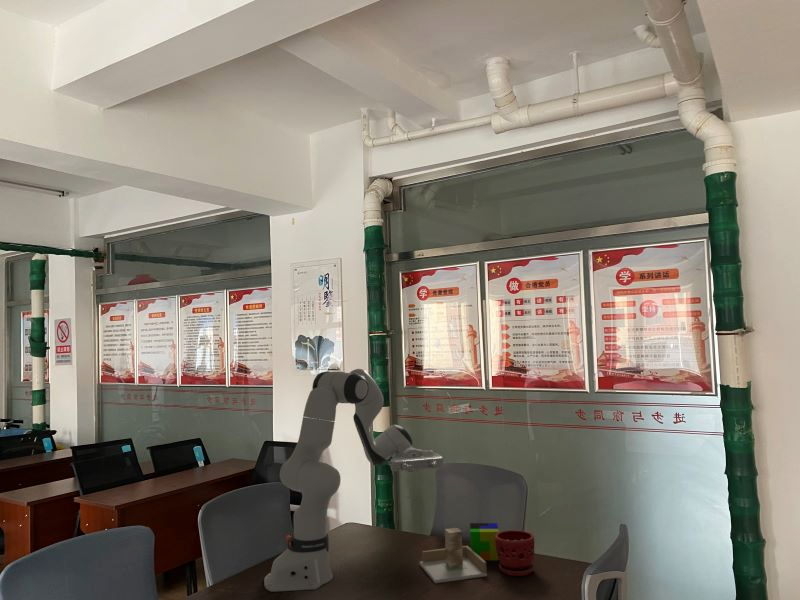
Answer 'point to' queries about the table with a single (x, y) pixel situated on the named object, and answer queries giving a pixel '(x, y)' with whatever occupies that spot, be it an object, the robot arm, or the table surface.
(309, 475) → the robot arm
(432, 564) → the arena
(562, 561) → the table surface
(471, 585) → the table surface
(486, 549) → the puzzle toy
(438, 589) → the table surface
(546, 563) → the table surface
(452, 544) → the beech block
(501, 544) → the plant pot
